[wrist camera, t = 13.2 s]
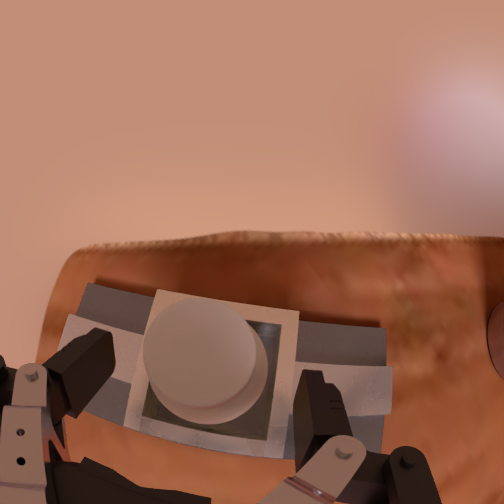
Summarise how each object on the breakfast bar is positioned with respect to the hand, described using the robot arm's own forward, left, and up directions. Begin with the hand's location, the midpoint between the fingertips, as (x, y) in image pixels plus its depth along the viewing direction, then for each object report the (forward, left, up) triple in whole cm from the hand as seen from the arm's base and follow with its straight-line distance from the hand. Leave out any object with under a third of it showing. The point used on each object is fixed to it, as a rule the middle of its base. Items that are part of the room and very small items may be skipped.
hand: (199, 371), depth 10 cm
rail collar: (0, -1, -9) cm, 9 cm away
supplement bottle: (0, 0, -8) cm, 8 cm away
